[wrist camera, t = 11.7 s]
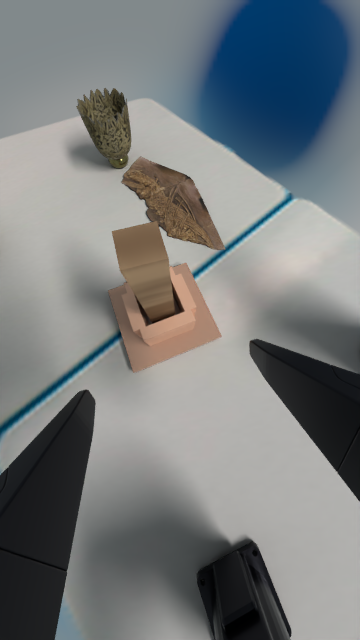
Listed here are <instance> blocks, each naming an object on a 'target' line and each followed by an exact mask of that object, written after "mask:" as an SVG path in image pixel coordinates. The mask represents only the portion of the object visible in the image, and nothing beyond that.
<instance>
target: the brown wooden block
mask: <svg viewBox="0 0 360 640" xmlns="http://www.w3.org/2000/svg"><path fill="white" fill-rule="evenodd" d="M112 234H113V239H114V244H115V249H116V254H117V258H118V263H119V268H120V271H121V273H122V274H123V276H124V278H125V279H126V281H127V283H128V284H129V286H130V287H131V289H132V291H133V292H134V294H135V295H136V297H137V299H138V300H139V302H140V304H141V305H142V307H143V308H144V310H145V312H146V313H147V315H148V317H149V318H150V320H151V321H152V323H153V324H154V323H156V322H159V321H162V320H164V319H167V318H169V317H172V316H175V309H174V301H173V292H172V284H171V276H170V268H169V259H168V256H167V252H166V249H165V246H164V243H163V239H162V236H161V233H160V230H159V226H158V223H157V221H155V222H150V223H146V224H142V225H137V226H133V227H129V228H125V229H120V230H116V231H112Z"/></svg>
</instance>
